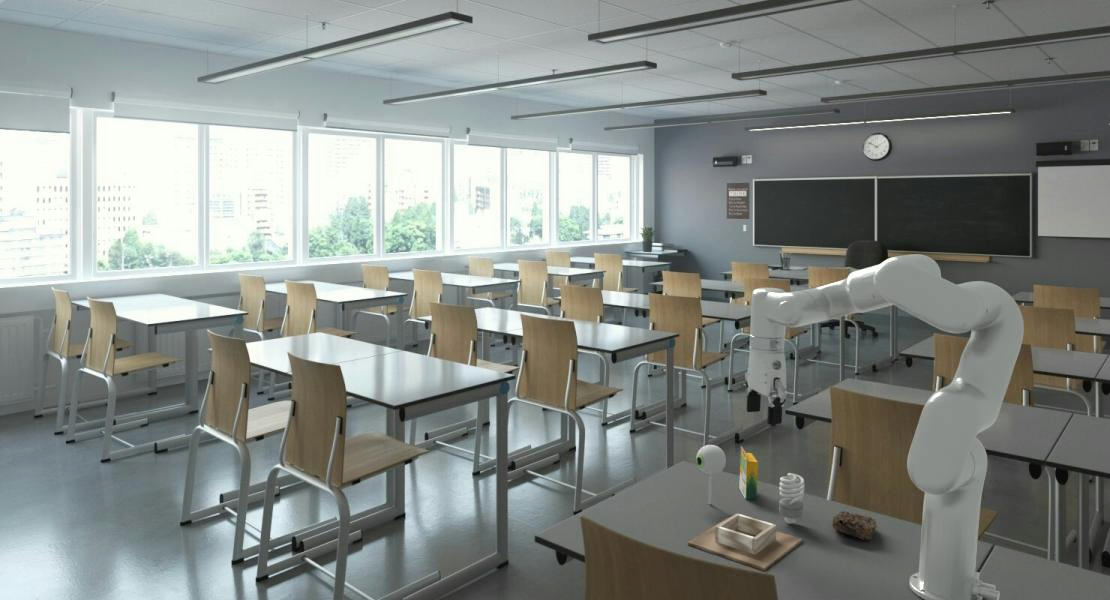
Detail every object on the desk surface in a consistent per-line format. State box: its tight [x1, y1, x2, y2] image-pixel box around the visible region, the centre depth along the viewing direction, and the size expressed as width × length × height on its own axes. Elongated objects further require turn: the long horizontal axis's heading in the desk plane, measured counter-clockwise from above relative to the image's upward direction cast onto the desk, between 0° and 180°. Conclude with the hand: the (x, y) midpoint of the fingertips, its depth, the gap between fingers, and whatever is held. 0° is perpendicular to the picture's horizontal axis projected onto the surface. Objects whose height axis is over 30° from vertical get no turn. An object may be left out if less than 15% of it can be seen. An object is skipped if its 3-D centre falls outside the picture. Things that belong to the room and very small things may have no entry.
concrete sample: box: [831, 510, 878, 541], centre depth 177 cm, size 12×10×5 cm
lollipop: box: [695, 444, 727, 505], centre depth 192 cm, size 7×7×15 cm
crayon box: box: [738, 445, 759, 501], centre depth 199 cm, size 7×3×12 cm, turn 179°
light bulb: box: [778, 472, 806, 525], centre depth 181 cm, size 6×6×12 cm
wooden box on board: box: [687, 512, 803, 572], centre depth 171 cm, size 18×18×4 cm
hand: (763, 417), depth 178 cm, fingers open, 9 cm apart
